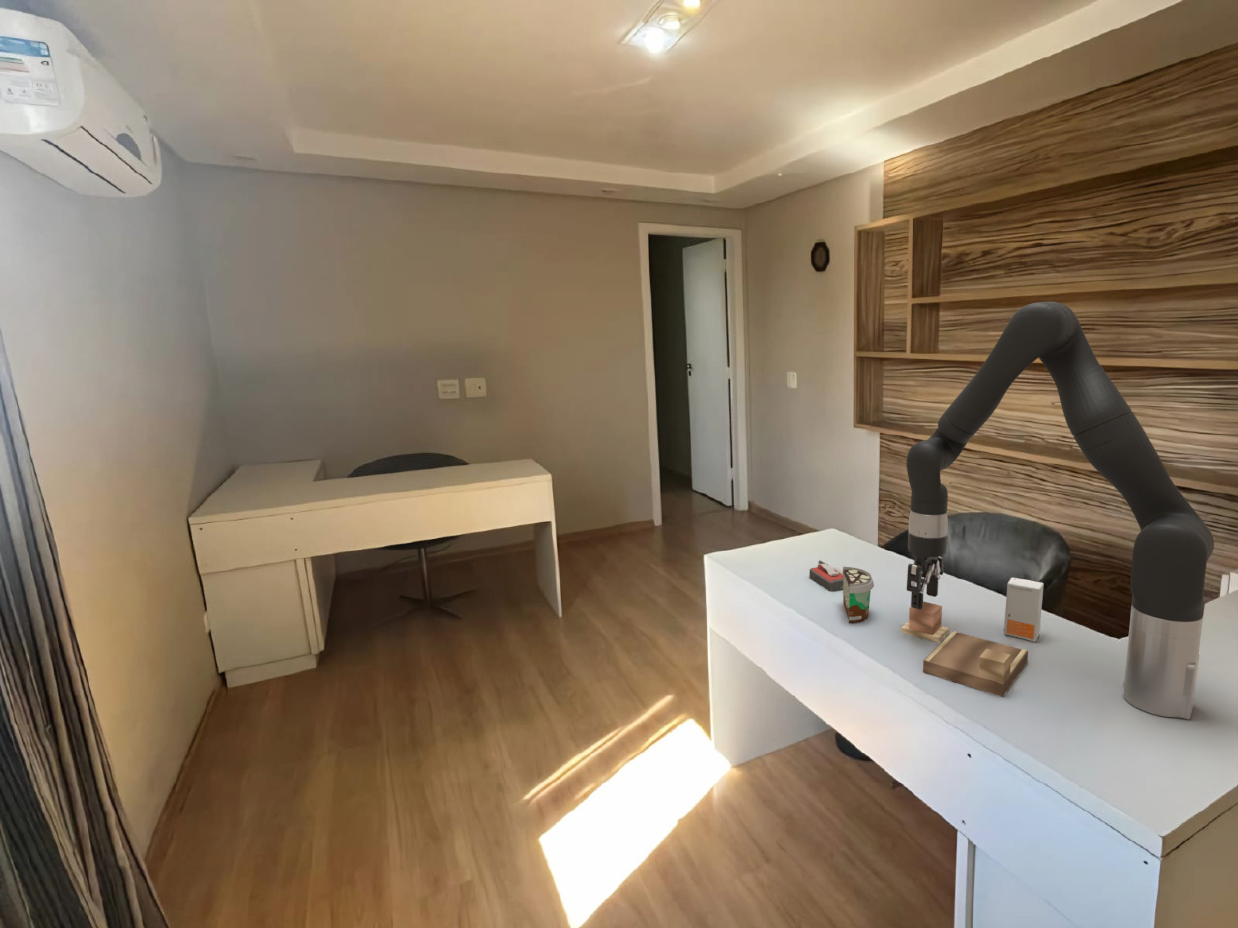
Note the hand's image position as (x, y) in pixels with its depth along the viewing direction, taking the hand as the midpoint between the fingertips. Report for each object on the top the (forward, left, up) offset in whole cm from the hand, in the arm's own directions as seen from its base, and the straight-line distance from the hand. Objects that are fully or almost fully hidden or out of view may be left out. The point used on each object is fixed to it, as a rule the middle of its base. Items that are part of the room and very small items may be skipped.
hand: (924, 601), depth 141 cm
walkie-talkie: (+32, -17, -8) cm, 37 cm away
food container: (+15, 0, -7) cm, 16 cm away
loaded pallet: (0, 0, -7) cm, 7 cm away
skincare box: (-16, -11, -7) cm, 21 cm away
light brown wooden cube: (-18, +15, -5) cm, 24 cm away
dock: (-13, +9, -7) cm, 18 cm away
